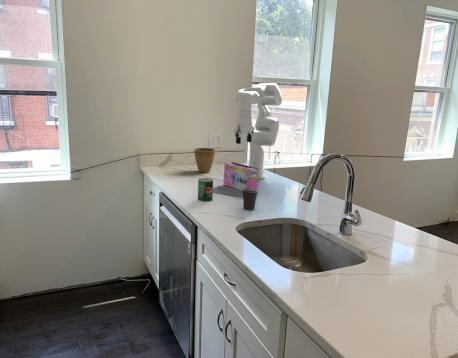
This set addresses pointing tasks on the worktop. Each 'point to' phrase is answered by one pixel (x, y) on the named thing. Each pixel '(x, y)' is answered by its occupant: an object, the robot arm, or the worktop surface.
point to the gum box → (240, 176)
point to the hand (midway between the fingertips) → (243, 142)
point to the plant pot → (204, 159)
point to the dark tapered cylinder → (249, 198)
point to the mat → (228, 191)
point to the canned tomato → (205, 189)
